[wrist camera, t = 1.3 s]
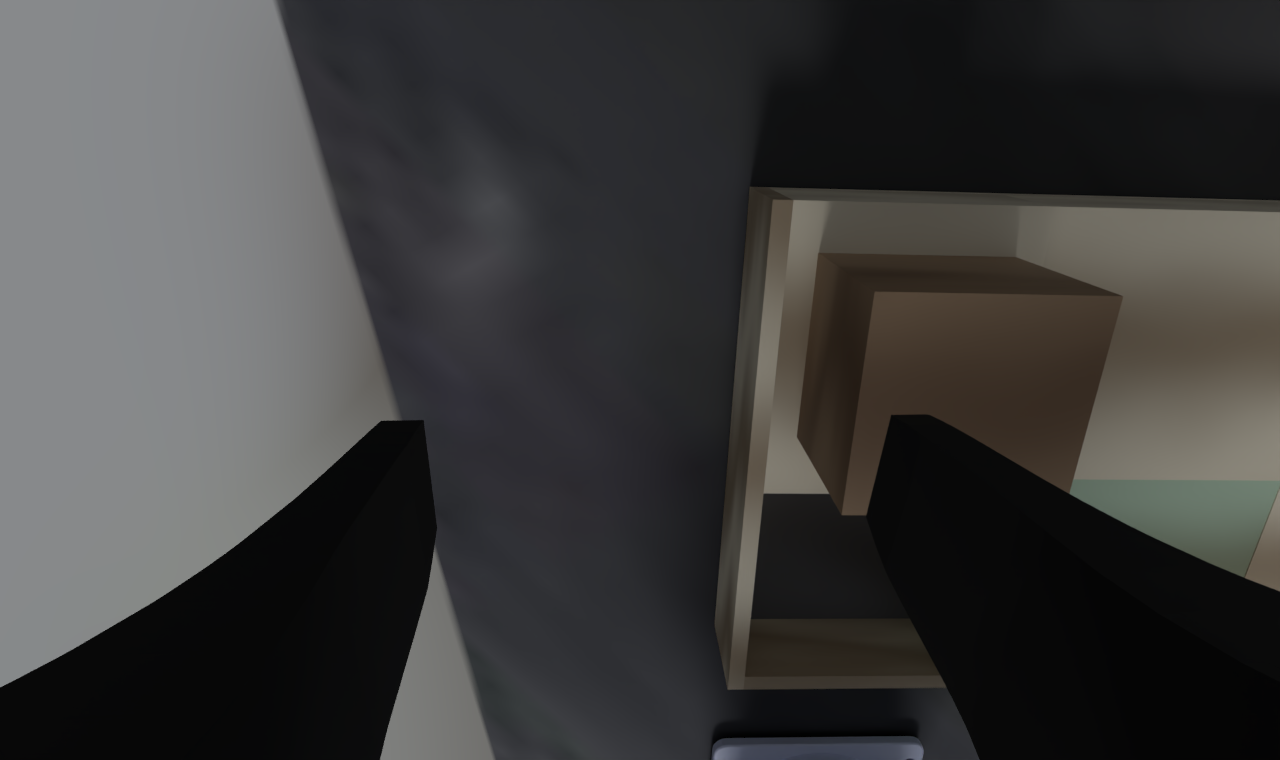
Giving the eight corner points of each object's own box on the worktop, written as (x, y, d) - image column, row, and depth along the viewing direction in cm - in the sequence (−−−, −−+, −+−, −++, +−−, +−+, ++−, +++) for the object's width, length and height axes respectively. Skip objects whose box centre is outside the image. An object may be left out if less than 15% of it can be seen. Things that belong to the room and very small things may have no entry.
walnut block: (976, 438, 20) (1063, 515, 16) (796, 436, 19) (841, 515, 16) (1015, 257, 18) (1123, 296, 14) (818, 252, 18) (874, 291, 14)
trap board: (1322, 622, 26) (1407, 683, 24) (714, 625, 25) (727, 689, 22) (1509, 206, 21) (1647, 221, 18) (749, 186, 20) (772, 199, 17)
